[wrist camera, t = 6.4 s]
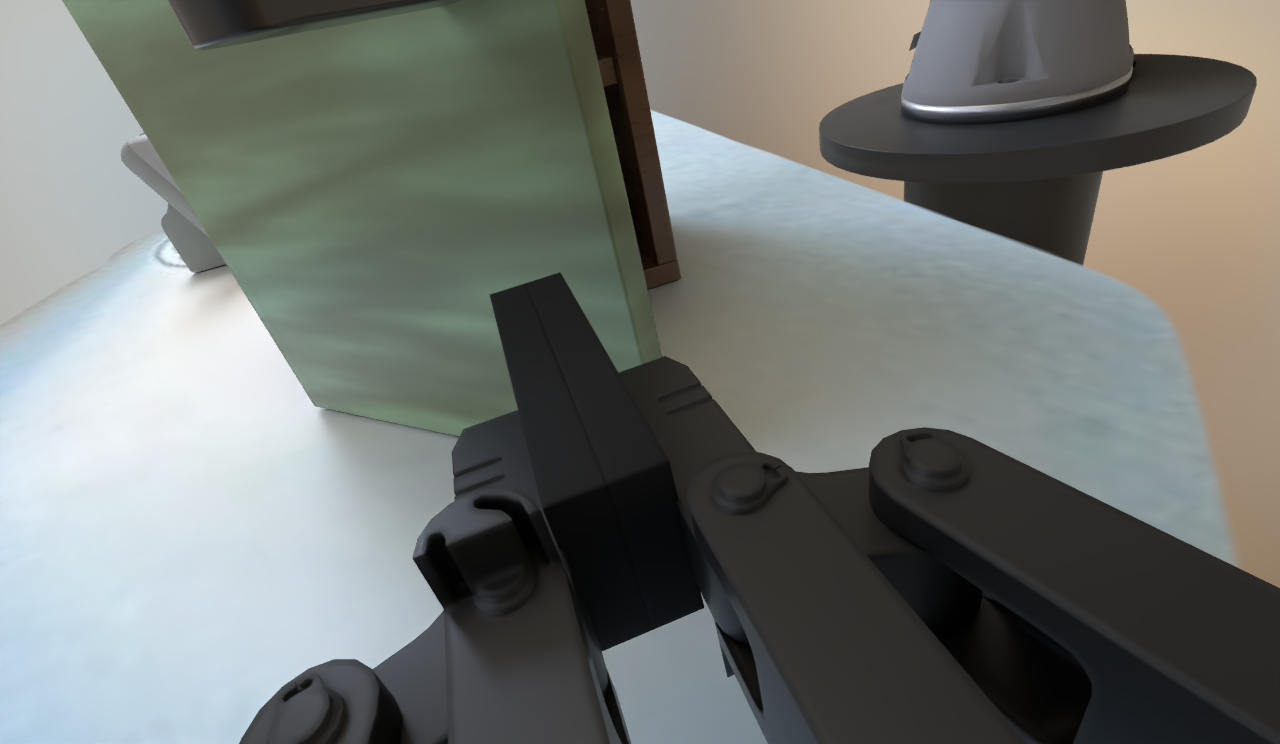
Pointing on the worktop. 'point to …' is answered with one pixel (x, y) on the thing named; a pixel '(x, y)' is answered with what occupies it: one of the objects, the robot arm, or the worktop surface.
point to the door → (389, 180)
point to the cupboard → (634, 136)
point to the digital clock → (172, 206)
